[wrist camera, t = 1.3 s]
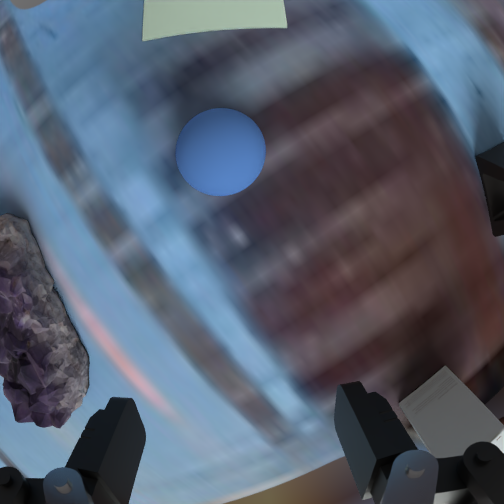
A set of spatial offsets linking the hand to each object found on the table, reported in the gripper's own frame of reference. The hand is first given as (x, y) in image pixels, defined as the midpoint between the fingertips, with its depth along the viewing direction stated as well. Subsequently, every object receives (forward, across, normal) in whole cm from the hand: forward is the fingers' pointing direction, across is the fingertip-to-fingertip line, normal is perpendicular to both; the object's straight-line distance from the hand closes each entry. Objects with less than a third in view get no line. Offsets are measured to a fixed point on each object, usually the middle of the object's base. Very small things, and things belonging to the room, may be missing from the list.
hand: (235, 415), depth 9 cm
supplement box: (+16, -22, +18) cm, 33 cm away
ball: (+13, 0, -10) cm, 16 cm away
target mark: (+16, 0, -27) cm, 31 cm away
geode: (+16, +20, +2) cm, 26 cm away
